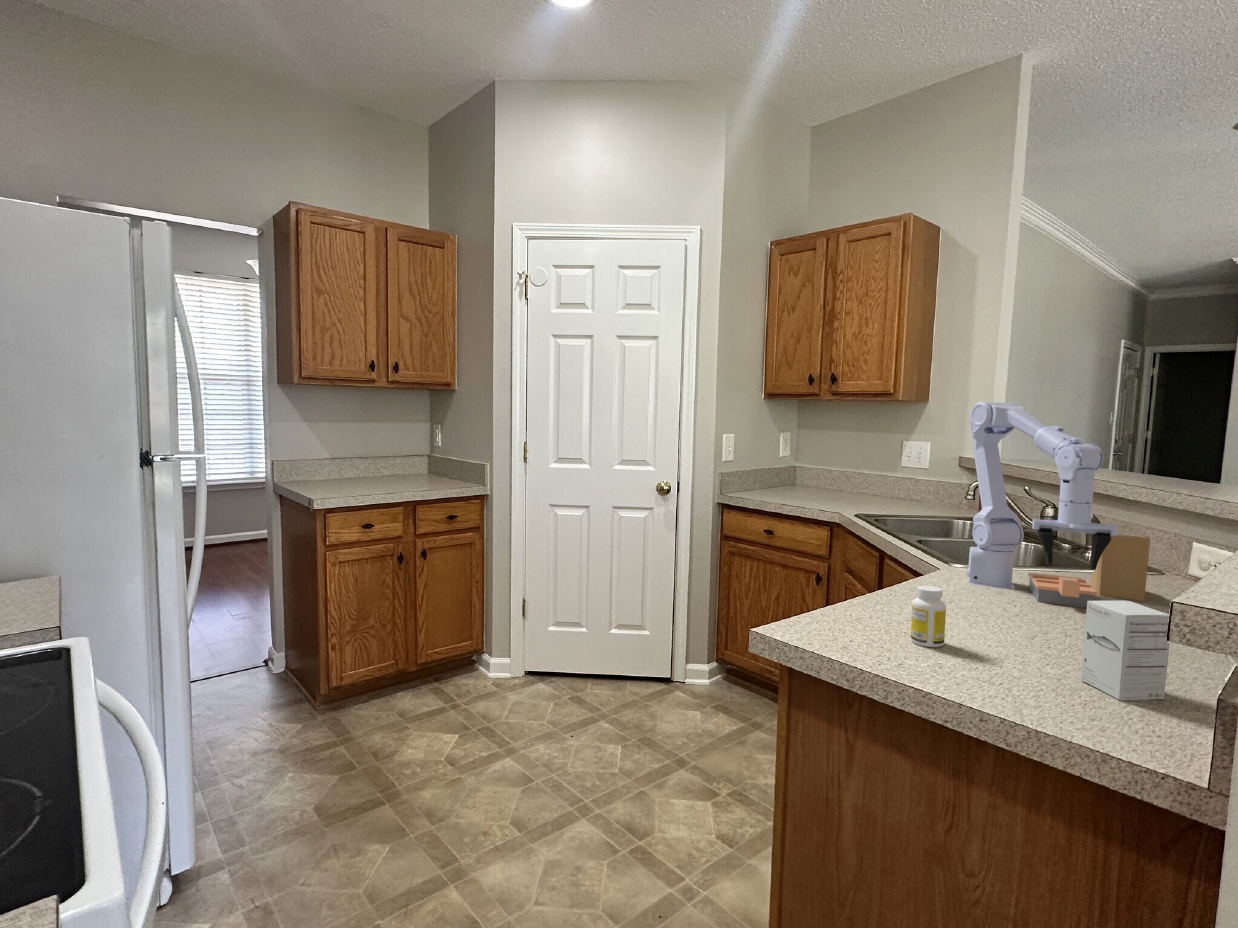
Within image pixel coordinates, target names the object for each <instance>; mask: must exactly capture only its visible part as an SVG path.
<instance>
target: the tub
mask: <svg viewBox="0 0 1238 928" xmlns="http://www.w3.org/2000/svg"><path fill="white" fill-rule="evenodd" d="M1028 590H1029V591H1030V592H1031V594H1032V595H1033V597H1034V598H1035V600H1036V601H1037V603H1044V604H1053V605H1062V606H1070V607H1077V608H1085V609H1087V601H1095V595H1089V594H1080V593H1079V597H1071V596H1062V595H1061V594H1060V593H1059V591H1054V590H1045V589H1037V587H1036V586H1035V584H1034V583H1033V582H1032V580H1031V579H1030V578H1029V582H1028Z"/></svg>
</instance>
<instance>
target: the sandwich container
mask: <svg viewBox="0 0 1238 928" xmlns="http://www.w3.org/2000/svg"><path fill="white" fill-rule="evenodd" d="M1110 537H1111V541H1110V543H1109V544H1108V545H1107V547H1106V548H1105V550H1104V551H1103V553H1102V555H1101V557H1100V559H1099V561H1098V564H1097V567H1096V570H1095V569H1093V572H1092V575H1091V579H1090V580H1089V583H1090V585H1091V587H1092V588H1093V589H1094V590H1095V591H1096V592H1097V594H1098V596H1099V597H1100V596H1101V597H1107V598H1115V599H1117V598H1118V599H1122V600H1123V599H1124V600H1125V599H1126V600H1131V601H1132V600H1133V601H1140V602H1141V601H1142V602H1145V598H1146V597H1145V596H1146V588H1147V587H1146V585H1147V578H1148V577H1147V576H1148V567H1149V556H1150V547H1151V537H1149V536H1140V535H1139V536H1136V535H1129V534H1117V536H1111V535H1110Z"/></svg>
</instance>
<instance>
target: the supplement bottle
mask: <svg viewBox="0 0 1238 928" xmlns="http://www.w3.org/2000/svg"><path fill="white" fill-rule="evenodd" d="M916 595H917V598H914V599H913V601H912V604H911V623H910V640H911V642H912V643H913V644H915V645H918V646H922V647H925V648H926V647H927V648H941V647H943V646H944V645H945V638H946V637H945V635H946V634H945V631H946V612H947V605H946V604H945V602H944V601H943V600H941V599H942V598H943V589H942V588H941V587H938V586H934V585H918V587H917V589H916Z"/></svg>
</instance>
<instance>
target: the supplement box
mask: <svg viewBox="0 0 1238 928" xmlns="http://www.w3.org/2000/svg"><path fill="white" fill-rule="evenodd" d="M1085 613H1086V614H1085V624H1084V625H1085V626H1084V633H1083V634H1084V636H1083V645H1082V646H1083V647H1082V656H1081V657H1082V658H1081V668H1080V669H1081V670H1080V681H1081V682H1084V683H1086V684H1089V686H1092V687H1094V688H1095V689H1098V690H1100V691H1102V692H1103V693H1106V694H1107V695H1109V696H1111V697H1113V698H1114V699H1116V700H1118V701H1127V700H1129V701H1144V700H1143V699H1164V700H1165V693H1166V692H1165V691H1166V684H1167V682H1166V681H1167V676H1168V675H1167V673H1168V664H1169V663H1168V662H1169V654H1170V643H1168V642H1167V629H1168V619H1169V615H1170V614H1169V613H1166V612H1163V611H1160V610H1157V609H1153V608H1151V607H1148V606H1144V605H1143V604H1140V603H1136V602H1134V601H1132V600H1131V601H1130V600H1094V601H1087V608H1086V611H1085ZM1140 699H1142V700H1140Z"/></svg>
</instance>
